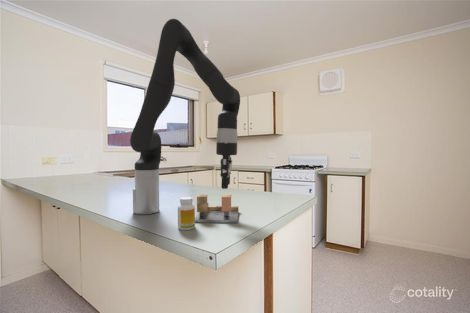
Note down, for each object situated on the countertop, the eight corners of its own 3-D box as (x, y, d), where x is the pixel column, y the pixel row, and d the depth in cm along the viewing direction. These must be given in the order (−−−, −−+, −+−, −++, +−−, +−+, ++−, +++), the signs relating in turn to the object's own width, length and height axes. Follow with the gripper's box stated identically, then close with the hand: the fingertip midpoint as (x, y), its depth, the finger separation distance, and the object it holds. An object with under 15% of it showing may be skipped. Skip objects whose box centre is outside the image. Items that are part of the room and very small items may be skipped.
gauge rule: (195, 219, 85) (195, 196, 84) (201, 211, 96) (201, 190, 95) (237, 220, 84) (237, 197, 83) (238, 212, 95) (238, 191, 94)
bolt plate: (194, 222, 82) (194, 219, 82) (200, 213, 93) (200, 210, 93) (237, 223, 81) (237, 220, 81) (238, 214, 92) (238, 211, 92)
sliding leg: (221, 216, 84) (221, 196, 84) (222, 213, 87) (222, 194, 87) (230, 216, 84) (230, 197, 84) (231, 213, 87) (231, 195, 87)
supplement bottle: (198, 227, 77) (198, 197, 76) (184, 231, 73) (184, 200, 72) (188, 223, 80) (188, 195, 80) (174, 227, 76) (174, 198, 76)
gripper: (219, 141, 92) (218, 183, 92) (213, 141, 78) (212, 189, 78) (238, 142, 91) (237, 183, 92) (236, 141, 77) (235, 190, 78)
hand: (225, 186), depth 85 cm, fingers open, 8 cm apart
